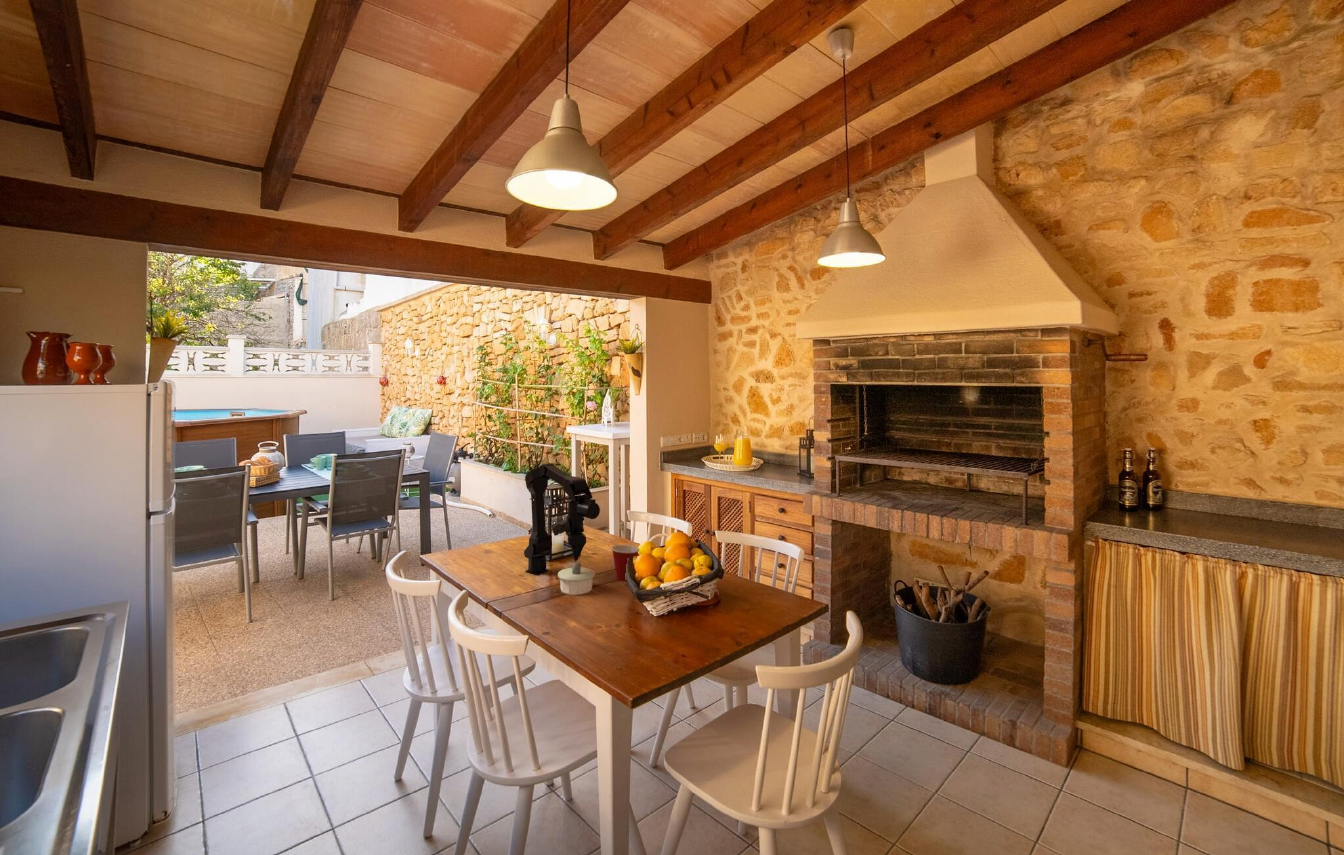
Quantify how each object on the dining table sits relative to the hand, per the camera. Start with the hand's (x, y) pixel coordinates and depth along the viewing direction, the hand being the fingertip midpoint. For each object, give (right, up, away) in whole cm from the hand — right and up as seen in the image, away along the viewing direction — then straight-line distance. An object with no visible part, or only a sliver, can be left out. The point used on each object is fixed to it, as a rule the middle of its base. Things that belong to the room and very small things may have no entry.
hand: (574, 556), depth 214 cm
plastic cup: (+17, -11, +13) cm, 24 cm away
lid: (+1, -7, -1) cm, 7 cm away
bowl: (+1, -12, 0) cm, 12 cm away
